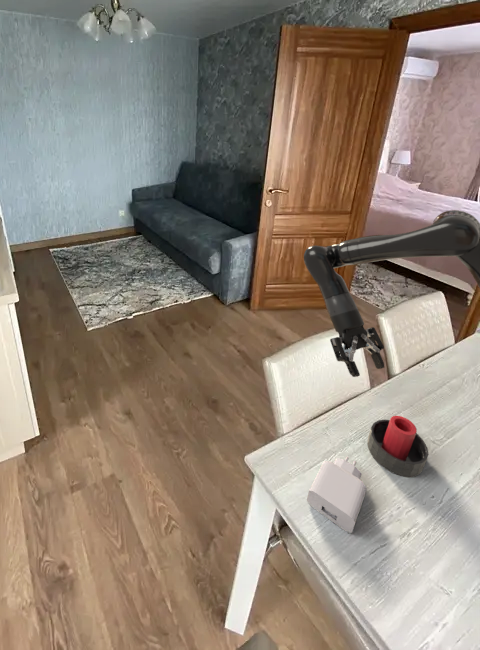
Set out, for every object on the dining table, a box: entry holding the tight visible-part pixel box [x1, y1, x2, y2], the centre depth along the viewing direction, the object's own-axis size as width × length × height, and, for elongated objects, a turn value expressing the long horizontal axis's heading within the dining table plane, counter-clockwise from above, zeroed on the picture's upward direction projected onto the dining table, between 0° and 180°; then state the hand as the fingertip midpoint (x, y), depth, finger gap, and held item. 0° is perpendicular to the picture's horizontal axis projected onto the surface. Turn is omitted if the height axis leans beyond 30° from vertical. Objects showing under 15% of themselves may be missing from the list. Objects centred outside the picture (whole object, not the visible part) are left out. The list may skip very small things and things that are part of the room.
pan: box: [366, 418, 430, 478], centre depth 85 cm, size 12×12×4 cm
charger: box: [306, 456, 368, 534], centre depth 76 cm, size 5×9×15 cm
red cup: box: [382, 415, 418, 461], centre depth 84 cm, size 5×5×9 cm
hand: (368, 372), depth 90 cm, fingers open, 8 cm apart
